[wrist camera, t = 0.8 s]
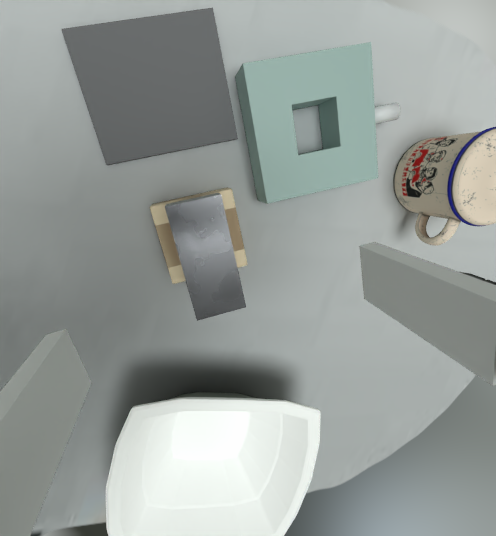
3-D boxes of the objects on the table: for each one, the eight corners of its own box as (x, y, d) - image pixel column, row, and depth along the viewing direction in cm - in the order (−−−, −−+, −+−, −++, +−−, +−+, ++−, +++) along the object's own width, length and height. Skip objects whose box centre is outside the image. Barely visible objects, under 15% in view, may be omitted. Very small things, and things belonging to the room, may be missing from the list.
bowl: (129, 348, 36) (114, 398, 28) (307, 359, 42) (336, 402, 34) (113, 492, 42) (97, 566, 34) (272, 484, 47) (290, 546, 39)
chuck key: (192, 274, 35) (197, 320, 24) (170, 195, 32) (164, 206, 21) (226, 265, 35) (246, 307, 25) (208, 186, 32) (221, 194, 22)
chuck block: (257, 200, 34) (267, 203, 30) (235, 76, 30) (242, 63, 26) (384, 171, 36) (408, 171, 32) (379, 52, 32) (405, 36, 28)
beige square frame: (173, 274, 34) (172, 284, 32) (152, 203, 32) (149, 207, 29) (242, 257, 36) (247, 264, 33) (227, 187, 33) (231, 189, 30)
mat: (107, 164, 30) (106, 164, 29) (63, 31, 26) (61, 29, 26) (236, 139, 32) (237, 138, 31) (212, 10, 28) (212, 7, 28)
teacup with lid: (412, 123, 35) (517, 101, 24) (470, 153, 38) (588, 146, 27) (368, 223, 38) (444, 245, 27) (424, 245, 40) (515, 273, 29)
